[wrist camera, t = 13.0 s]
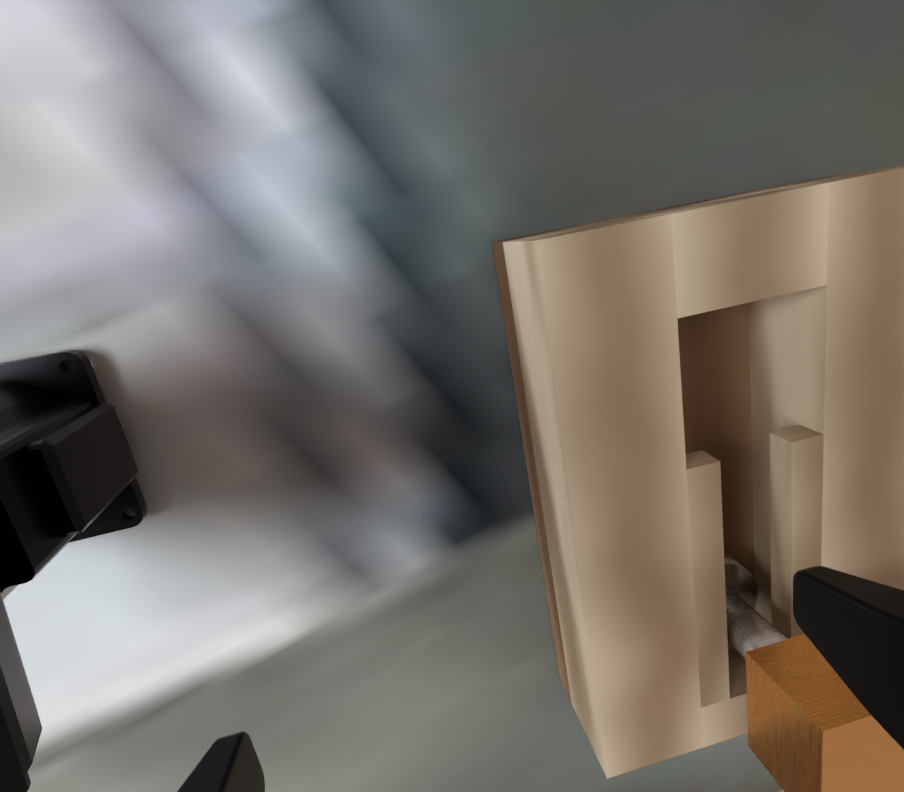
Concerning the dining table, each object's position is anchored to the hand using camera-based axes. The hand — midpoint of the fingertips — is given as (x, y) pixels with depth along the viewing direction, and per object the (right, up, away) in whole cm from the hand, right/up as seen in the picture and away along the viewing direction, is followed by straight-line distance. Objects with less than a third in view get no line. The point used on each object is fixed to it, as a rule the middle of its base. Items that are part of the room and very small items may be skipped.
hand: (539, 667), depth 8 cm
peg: (+9, -4, +15) cm, 18 cm away
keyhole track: (+8, +2, +15) cm, 17 cm away
